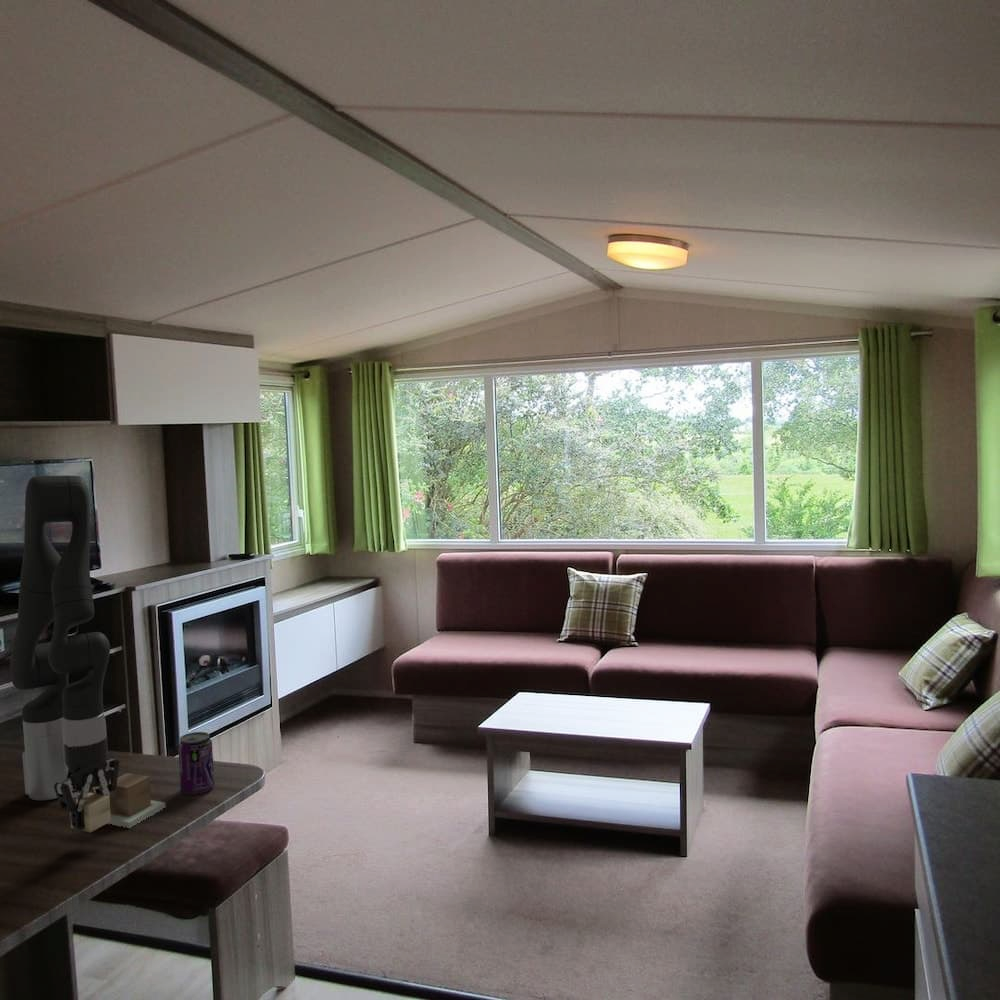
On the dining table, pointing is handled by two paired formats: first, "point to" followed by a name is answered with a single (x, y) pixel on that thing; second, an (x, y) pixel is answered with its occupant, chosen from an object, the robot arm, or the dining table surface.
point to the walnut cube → (130, 794)
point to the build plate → (136, 815)
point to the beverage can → (196, 763)
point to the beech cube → (95, 811)
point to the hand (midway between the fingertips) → (90, 821)
